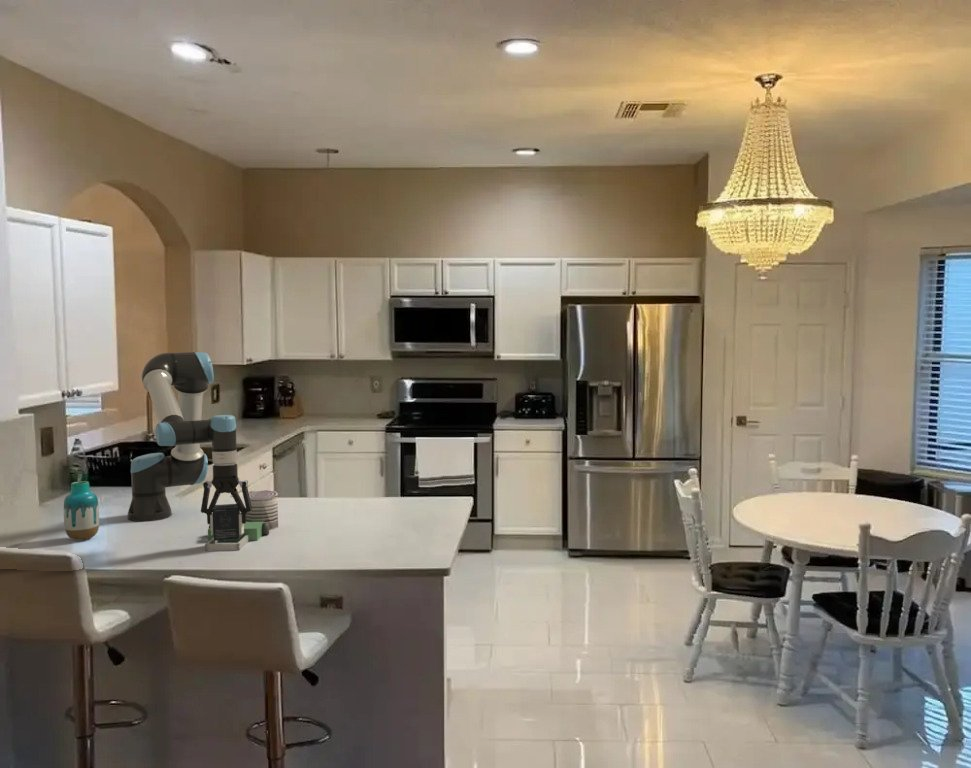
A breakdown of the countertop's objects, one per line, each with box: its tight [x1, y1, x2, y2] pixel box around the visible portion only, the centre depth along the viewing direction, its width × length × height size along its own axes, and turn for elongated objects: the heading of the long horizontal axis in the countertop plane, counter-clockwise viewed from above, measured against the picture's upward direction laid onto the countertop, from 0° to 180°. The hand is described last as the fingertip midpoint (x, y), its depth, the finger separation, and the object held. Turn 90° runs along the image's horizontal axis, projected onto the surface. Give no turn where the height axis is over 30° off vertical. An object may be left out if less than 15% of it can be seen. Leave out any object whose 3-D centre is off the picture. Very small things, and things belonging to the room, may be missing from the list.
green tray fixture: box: [204, 522, 271, 552], centre depth 273 cm, size 19×22×8 cm
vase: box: [63, 481, 100, 541], centre depth 280 cm, size 11×11×19 cm
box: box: [212, 503, 241, 541], centre depth 268 cm, size 8×6×11 cm
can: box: [246, 489, 279, 531], centre depth 293 cm, size 11×11×12 cm
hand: (227, 533), depth 268 cm, fingers closed on box, 8 cm apart
